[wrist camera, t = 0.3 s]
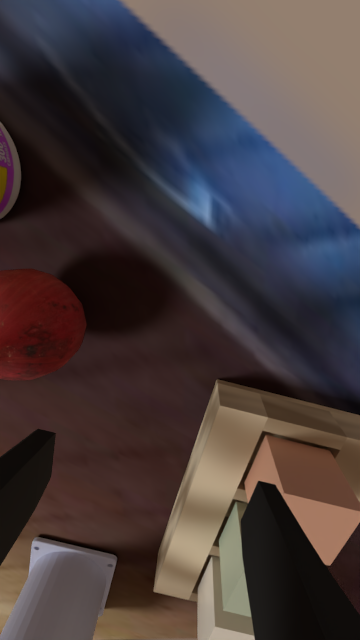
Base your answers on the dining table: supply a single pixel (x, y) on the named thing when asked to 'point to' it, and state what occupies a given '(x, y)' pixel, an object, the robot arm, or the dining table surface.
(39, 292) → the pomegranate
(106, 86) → the dining table surface
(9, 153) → the supplement bottle
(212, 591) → the cream key
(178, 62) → the dining table surface
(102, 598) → the robot arm
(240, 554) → the sage key
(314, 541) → the salmon pink cube
